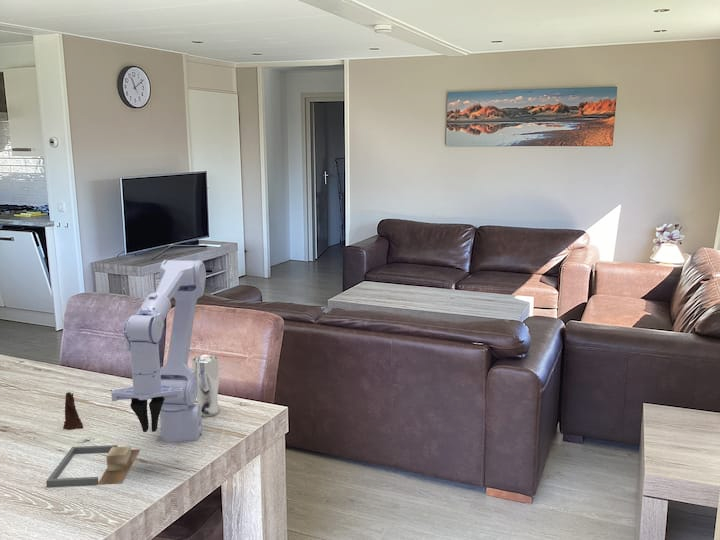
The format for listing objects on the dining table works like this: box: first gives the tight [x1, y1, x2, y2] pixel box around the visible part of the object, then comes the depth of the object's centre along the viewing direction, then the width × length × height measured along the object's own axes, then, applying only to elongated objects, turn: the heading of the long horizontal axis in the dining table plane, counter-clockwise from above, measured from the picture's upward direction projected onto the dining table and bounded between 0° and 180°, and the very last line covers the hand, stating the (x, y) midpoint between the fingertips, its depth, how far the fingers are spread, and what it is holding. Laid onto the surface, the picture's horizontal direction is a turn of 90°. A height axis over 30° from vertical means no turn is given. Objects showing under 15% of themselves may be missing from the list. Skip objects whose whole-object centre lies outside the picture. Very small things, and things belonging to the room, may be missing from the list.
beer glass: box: [191, 354, 221, 418], centre depth 168 cm, size 7×7×15 cm
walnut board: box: [96, 448, 141, 486], centre depth 138 cm, size 5×15×1 cm, turn 5°
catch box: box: [45, 444, 119, 488], centre depth 138 cm, size 10×15×3 cm, turn 5°
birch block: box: [106, 445, 132, 471], centre depth 138 cm, size 4×4×4 cm
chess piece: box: [63, 391, 84, 431], centre depth 158 cm, size 5×5×10 cm
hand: (150, 429), depth 137 cm, fingers closed
